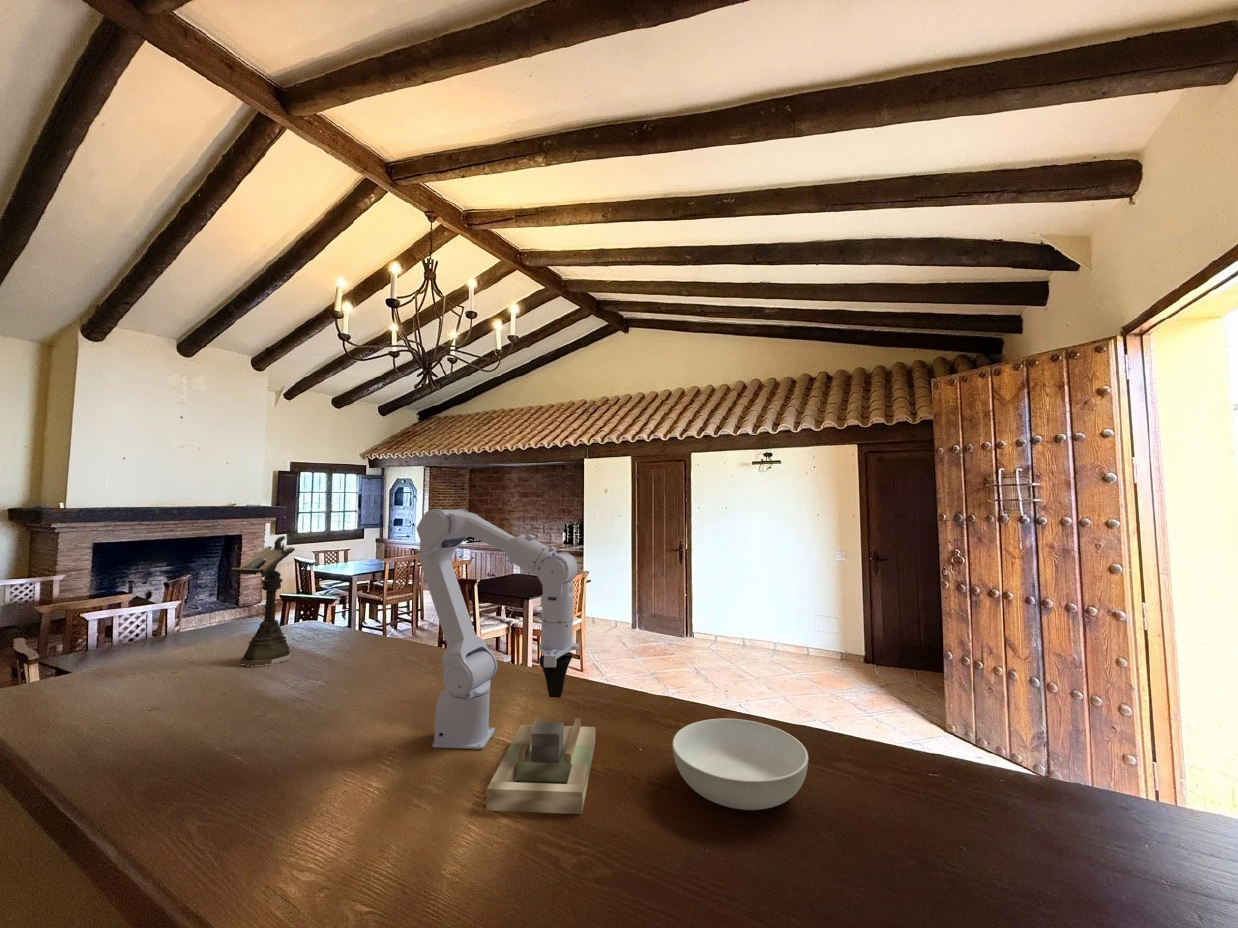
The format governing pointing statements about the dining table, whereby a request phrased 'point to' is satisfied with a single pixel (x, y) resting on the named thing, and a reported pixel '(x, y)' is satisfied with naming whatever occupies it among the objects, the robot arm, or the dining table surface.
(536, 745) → the charcoal block
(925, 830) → the dining table surface
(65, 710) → the dining table surface
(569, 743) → the railed deck
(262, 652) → the lectern
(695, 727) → the serving bowl
